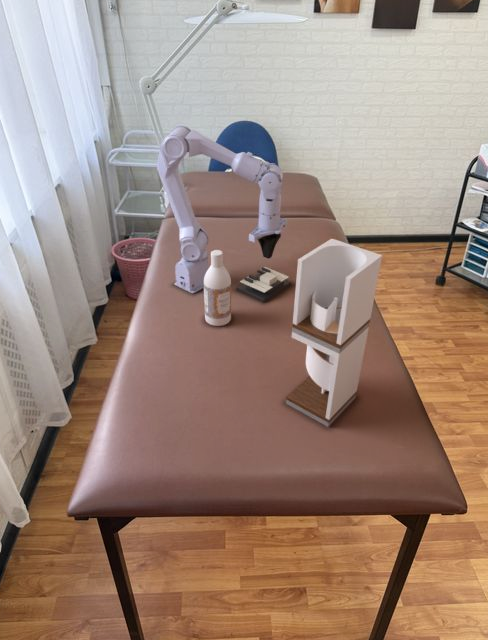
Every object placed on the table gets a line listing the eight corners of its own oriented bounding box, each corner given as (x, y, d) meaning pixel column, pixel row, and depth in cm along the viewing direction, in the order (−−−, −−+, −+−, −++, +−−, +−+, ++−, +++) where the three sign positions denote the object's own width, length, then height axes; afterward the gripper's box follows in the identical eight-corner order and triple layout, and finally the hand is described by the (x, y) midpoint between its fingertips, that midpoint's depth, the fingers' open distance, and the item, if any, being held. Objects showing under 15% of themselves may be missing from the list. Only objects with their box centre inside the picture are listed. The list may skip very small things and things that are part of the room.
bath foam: (213, 329, 132) (211, 261, 120) (200, 317, 136) (197, 250, 125) (235, 321, 135) (236, 254, 123) (222, 309, 139) (221, 243, 128)
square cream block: (276, 282, 147) (277, 275, 146) (269, 286, 145) (269, 280, 144) (267, 277, 149) (267, 271, 148) (259, 282, 147) (259, 276, 146)
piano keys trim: (289, 277, 149) (289, 274, 149) (264, 292, 142) (264, 290, 141) (265, 267, 154) (265, 265, 153) (239, 281, 146) (239, 279, 146)
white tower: (314, 377, 117) (331, 238, 97) (355, 397, 111) (382, 255, 92) (286, 403, 110) (298, 259, 90) (328, 427, 104) (350, 279, 84)
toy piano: (290, 285, 151) (291, 276, 149) (263, 303, 143) (263, 294, 141) (264, 274, 156) (264, 265, 155) (236, 290, 148) (236, 281, 146)
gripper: (264, 223, 129) (262, 270, 137) (297, 208, 138) (293, 252, 146) (243, 216, 133) (242, 262, 141) (277, 201, 142) (274, 245, 150)
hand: (267, 256), depth 144 cm, fingers closed
